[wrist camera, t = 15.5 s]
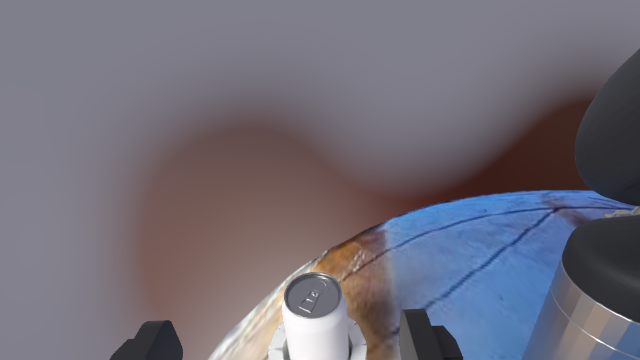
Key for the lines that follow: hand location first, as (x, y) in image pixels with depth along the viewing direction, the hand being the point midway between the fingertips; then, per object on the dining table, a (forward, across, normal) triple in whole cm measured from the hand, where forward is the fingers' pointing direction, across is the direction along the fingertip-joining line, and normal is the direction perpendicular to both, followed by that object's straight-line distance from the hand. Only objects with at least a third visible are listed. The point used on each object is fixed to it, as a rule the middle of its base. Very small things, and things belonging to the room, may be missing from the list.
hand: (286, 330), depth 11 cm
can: (+14, 0, +26) cm, 30 cm away
